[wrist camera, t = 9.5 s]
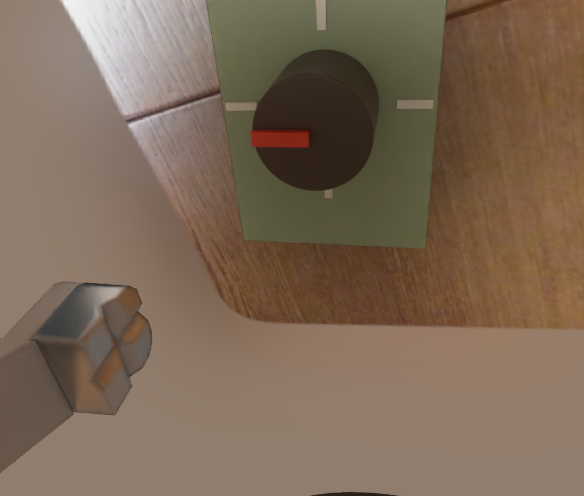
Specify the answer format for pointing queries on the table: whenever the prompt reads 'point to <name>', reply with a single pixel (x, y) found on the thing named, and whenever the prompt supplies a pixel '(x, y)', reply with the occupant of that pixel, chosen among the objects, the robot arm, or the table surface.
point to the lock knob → (317, 121)
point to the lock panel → (389, 129)
